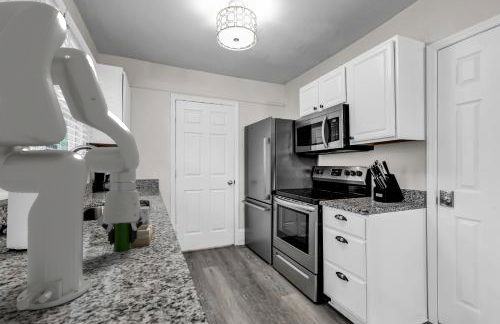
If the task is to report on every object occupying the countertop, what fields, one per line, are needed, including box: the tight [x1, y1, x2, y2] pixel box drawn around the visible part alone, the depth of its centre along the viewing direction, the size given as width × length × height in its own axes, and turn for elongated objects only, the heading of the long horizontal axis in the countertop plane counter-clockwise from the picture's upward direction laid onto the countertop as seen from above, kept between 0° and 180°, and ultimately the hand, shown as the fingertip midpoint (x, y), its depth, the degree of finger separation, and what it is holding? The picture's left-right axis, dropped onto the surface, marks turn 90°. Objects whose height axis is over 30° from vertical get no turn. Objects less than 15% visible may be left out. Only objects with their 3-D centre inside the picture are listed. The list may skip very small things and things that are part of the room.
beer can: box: [112, 223, 133, 255], centre depth 78 cm, size 5×5×12 cm
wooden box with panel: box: [132, 205, 156, 248], centre depth 91 cm, size 16×9×11 cm, turn 16°
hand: (122, 242), depth 78 cm, fingers open, 5 cm apart
